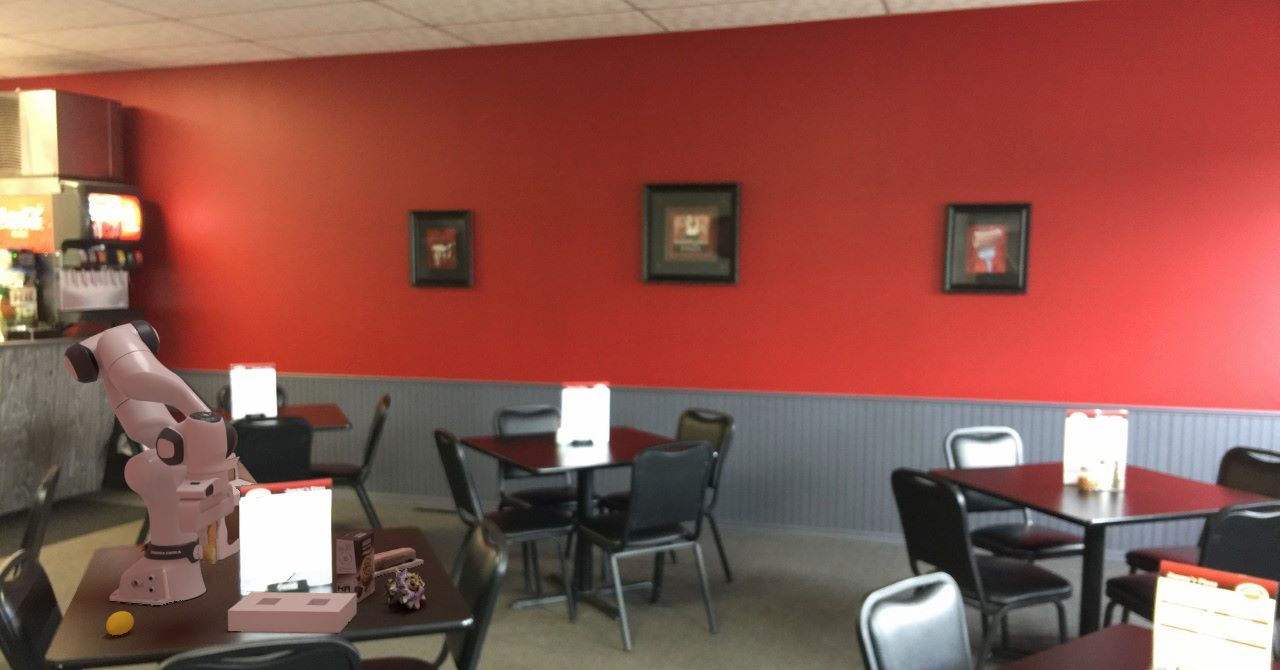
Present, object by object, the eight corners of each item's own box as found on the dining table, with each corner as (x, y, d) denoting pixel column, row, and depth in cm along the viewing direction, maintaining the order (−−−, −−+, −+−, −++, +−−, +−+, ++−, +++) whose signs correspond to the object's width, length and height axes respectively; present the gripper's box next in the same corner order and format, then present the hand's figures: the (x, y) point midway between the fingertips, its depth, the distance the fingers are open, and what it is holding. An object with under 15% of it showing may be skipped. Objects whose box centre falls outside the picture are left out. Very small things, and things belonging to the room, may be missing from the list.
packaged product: (370, 563, 268) (349, 556, 274) (370, 580, 268) (349, 573, 274) (424, 549, 281) (403, 542, 288) (424, 565, 282) (403, 558, 288)
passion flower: (416, 629, 245) (412, 601, 238) (375, 619, 247) (370, 590, 239) (433, 593, 254) (430, 564, 246) (394, 583, 255) (389, 554, 248)
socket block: (228, 631, 229) (227, 610, 228) (251, 612, 242) (251, 592, 241) (339, 632, 228) (339, 611, 228) (356, 613, 241) (356, 593, 241)
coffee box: (359, 603, 249) (358, 540, 248) (335, 601, 250) (334, 538, 249) (375, 591, 258) (375, 531, 256) (353, 589, 259) (352, 529, 258)
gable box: (219, 561, 284) (217, 465, 282) (178, 558, 286) (175, 463, 284) (261, 540, 306) (259, 451, 304) (222, 538, 308) (220, 449, 306)
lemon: (122, 642, 223) (119, 620, 222) (100, 641, 224) (97, 619, 223) (141, 627, 230) (139, 606, 229) (120, 626, 231) (117, 604, 230)
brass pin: (200, 564, 226) (199, 521, 225) (206, 560, 229) (205, 518, 228) (213, 564, 226) (212, 521, 225) (219, 560, 229) (218, 518, 228)
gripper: (214, 473, 237) (216, 530, 238) (171, 492, 216) (173, 554, 217) (240, 473, 236) (241, 530, 237) (200, 492, 216) (201, 554, 217)
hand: (208, 542), depth 227 cm, fingers closed on brass pin, 3 cm apart
